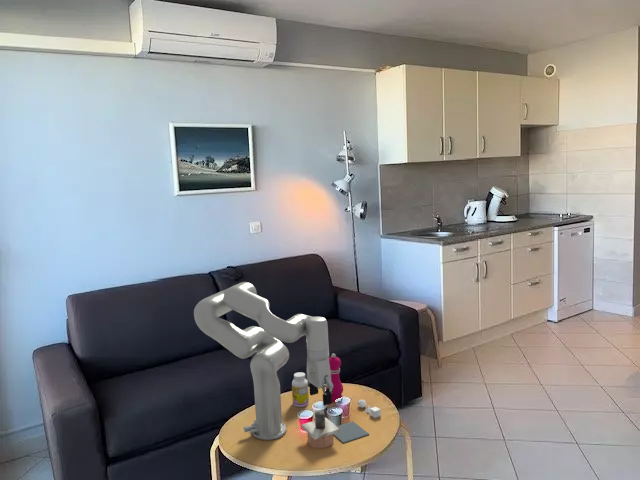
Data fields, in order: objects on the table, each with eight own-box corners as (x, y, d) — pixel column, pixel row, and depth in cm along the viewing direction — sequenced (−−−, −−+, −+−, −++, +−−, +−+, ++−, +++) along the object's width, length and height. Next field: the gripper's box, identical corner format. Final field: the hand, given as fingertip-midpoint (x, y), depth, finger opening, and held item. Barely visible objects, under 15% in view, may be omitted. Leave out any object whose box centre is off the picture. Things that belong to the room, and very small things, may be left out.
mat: (343, 443, 187) (343, 442, 187) (327, 430, 196) (327, 429, 196) (369, 434, 192) (369, 433, 192) (353, 422, 202) (353, 421, 202)
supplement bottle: (290, 401, 220) (289, 372, 219) (306, 399, 222) (305, 370, 220) (295, 408, 214) (293, 378, 212) (310, 406, 216) (309, 376, 214)
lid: (314, 439, 182) (314, 423, 181) (301, 427, 190) (300, 411, 189) (339, 431, 186) (339, 415, 185) (325, 419, 195) (325, 404, 194)
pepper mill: (339, 394, 226) (338, 349, 223) (346, 401, 219) (345, 355, 216) (323, 397, 223) (322, 352, 220) (330, 404, 217) (328, 357, 214)
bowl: (315, 450, 183) (315, 438, 182) (303, 439, 191) (303, 427, 190) (338, 443, 187) (337, 431, 186) (325, 432, 195) (325, 420, 194)
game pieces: (381, 416, 206) (381, 409, 205) (374, 419, 204) (374, 411, 204) (363, 404, 216) (362, 397, 216) (356, 406, 214) (356, 399, 214)
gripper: (297, 348, 190) (300, 393, 192) (320, 362, 175) (323, 411, 177) (315, 343, 193) (318, 388, 196) (340, 357, 178) (342, 405, 180)
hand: (320, 399), depth 186 cm, fingers open, 9 cm apart
